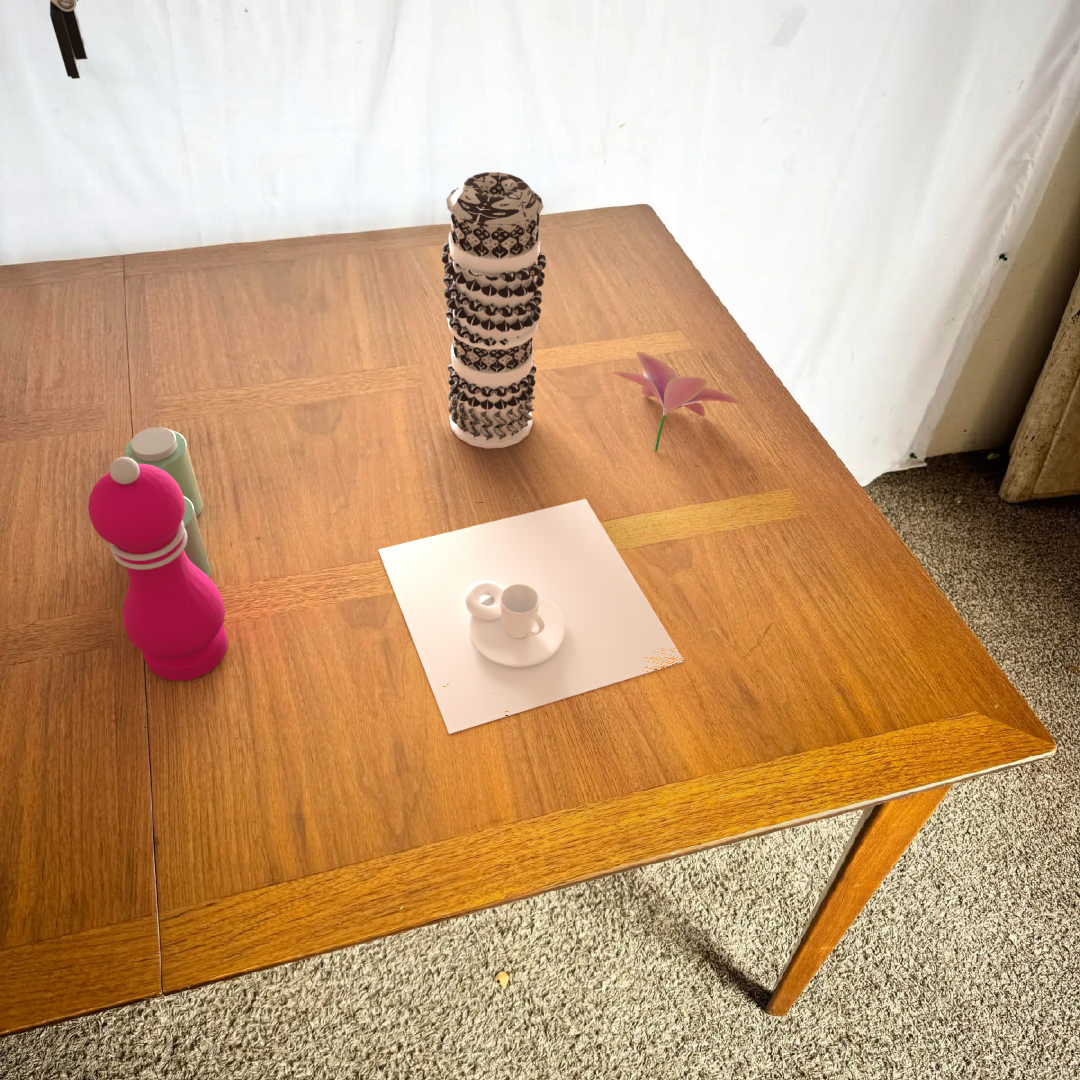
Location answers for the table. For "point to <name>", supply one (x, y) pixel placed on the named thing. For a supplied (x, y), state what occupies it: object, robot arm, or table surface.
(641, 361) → the lily
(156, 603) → the pepper mill
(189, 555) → the shaker mid
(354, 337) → the table surface
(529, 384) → the patterned beaded cylinder
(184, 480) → the shaker far
